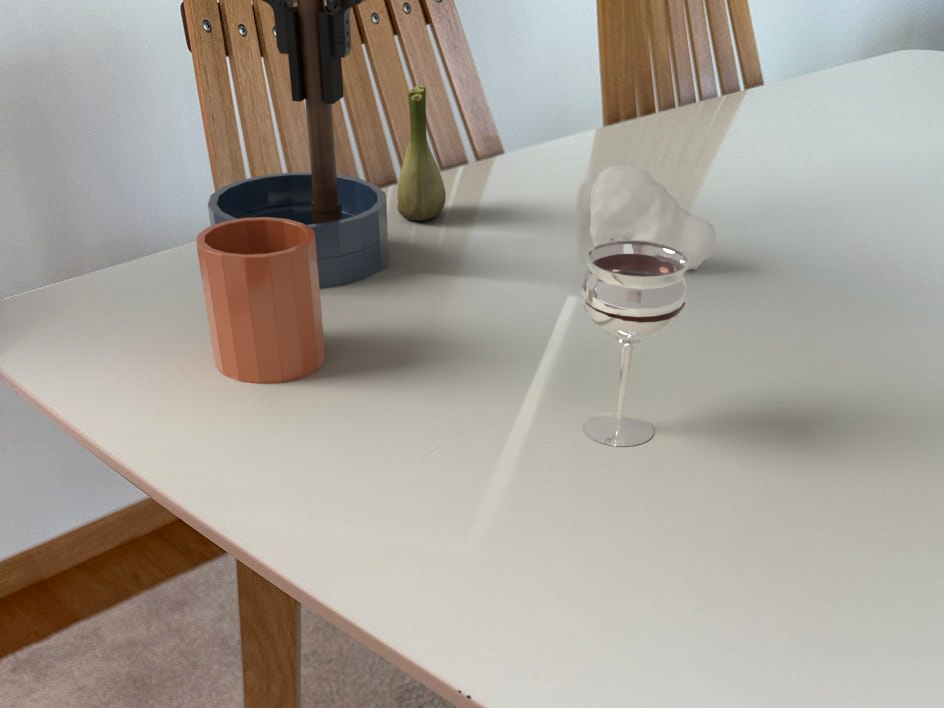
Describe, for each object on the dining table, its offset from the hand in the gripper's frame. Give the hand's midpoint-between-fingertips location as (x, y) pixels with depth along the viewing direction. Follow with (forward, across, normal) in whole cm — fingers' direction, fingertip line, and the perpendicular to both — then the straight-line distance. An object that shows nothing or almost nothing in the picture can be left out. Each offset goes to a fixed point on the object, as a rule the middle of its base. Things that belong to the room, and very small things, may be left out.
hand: (318, 98), depth 88 cm
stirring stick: (+11, 0, 0) cm, 11 cm away
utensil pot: (+14, -3, +22) cm, 26 cm away
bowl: (+14, +2, +1) cm, 14 cm away
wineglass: (+14, -30, +25) cm, 42 cm away
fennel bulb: (+14, -5, -15) cm, 21 cm away
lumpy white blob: (+14, -29, -7) cm, 33 cm away
